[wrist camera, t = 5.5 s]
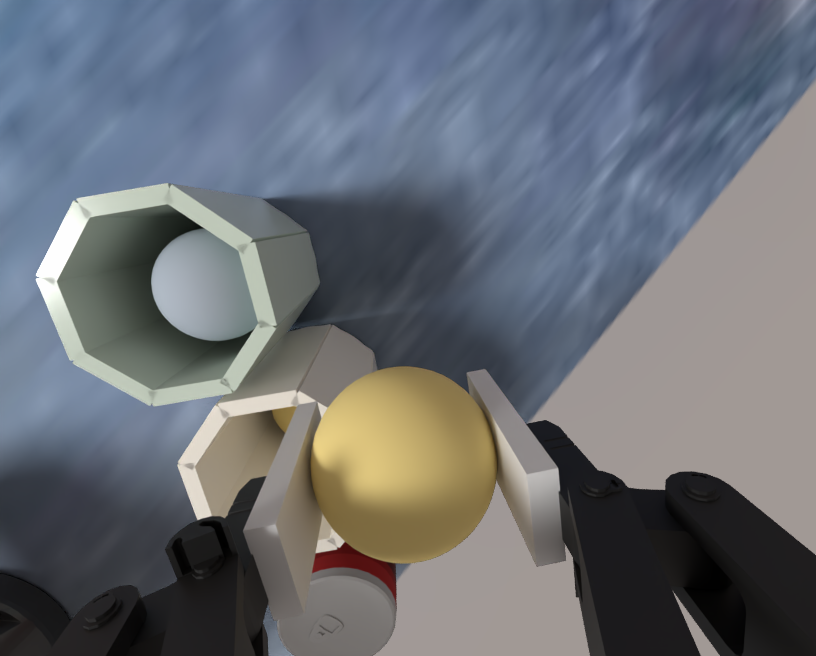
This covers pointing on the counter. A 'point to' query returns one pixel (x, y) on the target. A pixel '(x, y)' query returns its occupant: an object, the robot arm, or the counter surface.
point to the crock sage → (133, 299)
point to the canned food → (344, 607)
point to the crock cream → (269, 416)
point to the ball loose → (403, 464)
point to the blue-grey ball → (203, 287)
